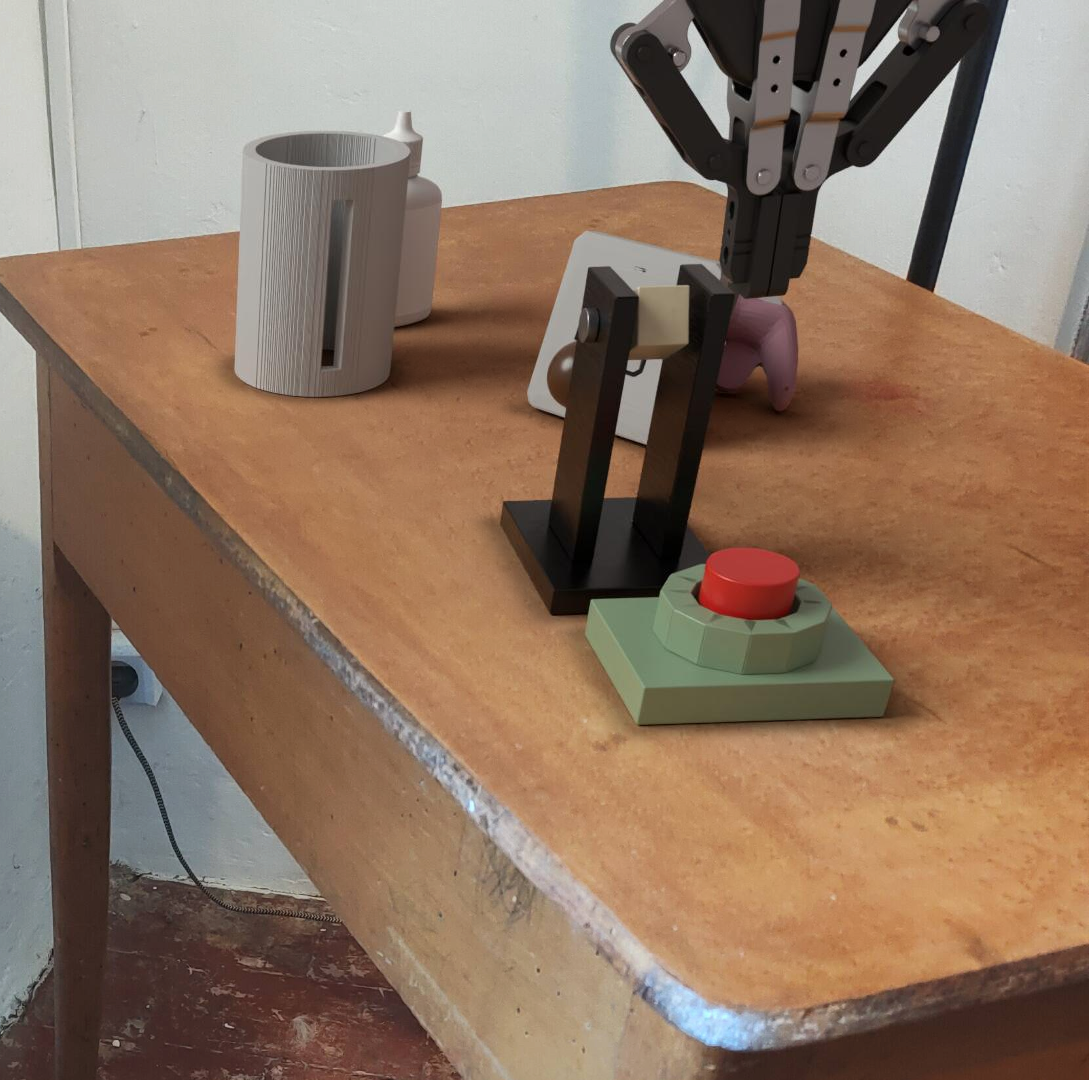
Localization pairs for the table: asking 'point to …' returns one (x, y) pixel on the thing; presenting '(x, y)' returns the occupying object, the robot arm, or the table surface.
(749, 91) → the robot arm
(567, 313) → the electrical switch
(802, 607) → the button block
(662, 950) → the table surface
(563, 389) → the lever
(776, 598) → the button
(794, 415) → the table surface
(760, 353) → the video game controller
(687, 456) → the bracket
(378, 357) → the cup
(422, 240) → the eye dropper bottle
